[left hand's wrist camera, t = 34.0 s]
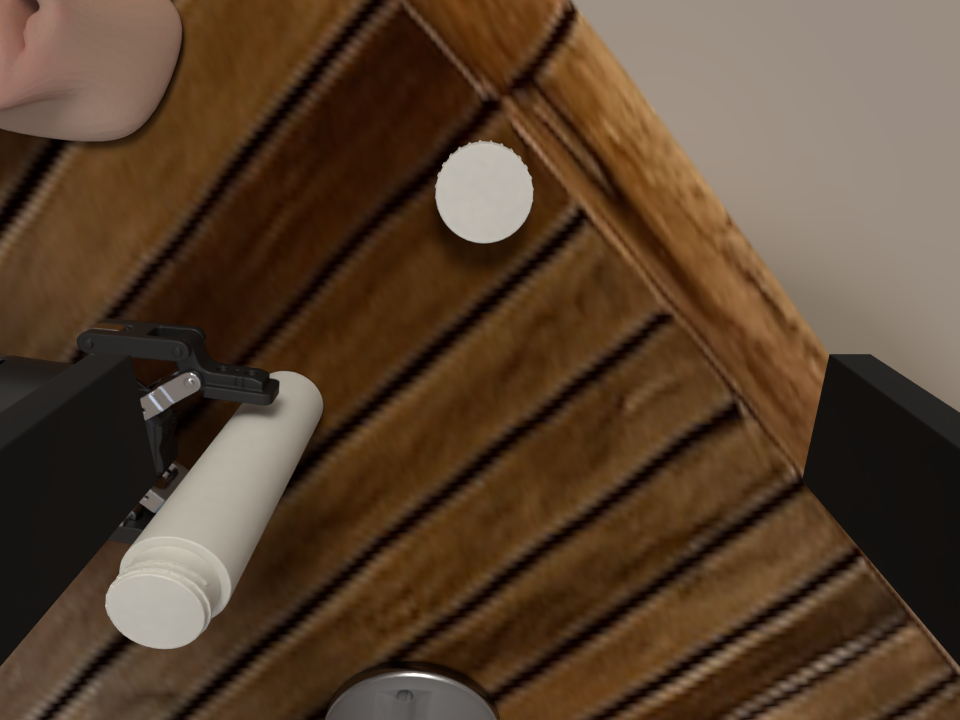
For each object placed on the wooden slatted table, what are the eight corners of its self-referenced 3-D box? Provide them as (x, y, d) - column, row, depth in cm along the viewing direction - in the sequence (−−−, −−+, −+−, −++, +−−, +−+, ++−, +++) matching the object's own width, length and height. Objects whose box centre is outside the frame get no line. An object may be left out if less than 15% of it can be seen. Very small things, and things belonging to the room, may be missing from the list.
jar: (319, 370, 44) (204, 565, 26) (326, 433, 46) (223, 657, 28) (248, 370, 44) (82, 566, 26) (258, 433, 46) (110, 657, 28)
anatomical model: (156, -51, 31) (135, 184, 35) (190, -36, 35) (168, 176, 39) (-136, -146, 30) (-122, 110, 34) (-68, -120, 33) (-63, 109, 38)
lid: (420, 165, 39) (417, 168, 37) (509, 123, 38) (510, 125, 36) (460, 251, 41) (459, 259, 39) (545, 214, 40) (548, 220, 38)
